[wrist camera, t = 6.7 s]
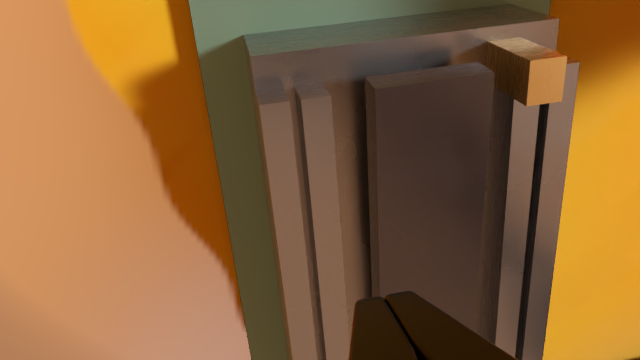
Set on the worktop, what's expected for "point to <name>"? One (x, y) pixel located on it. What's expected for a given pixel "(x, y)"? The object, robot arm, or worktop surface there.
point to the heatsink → (352, 164)
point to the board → (241, 135)
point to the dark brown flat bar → (428, 182)
